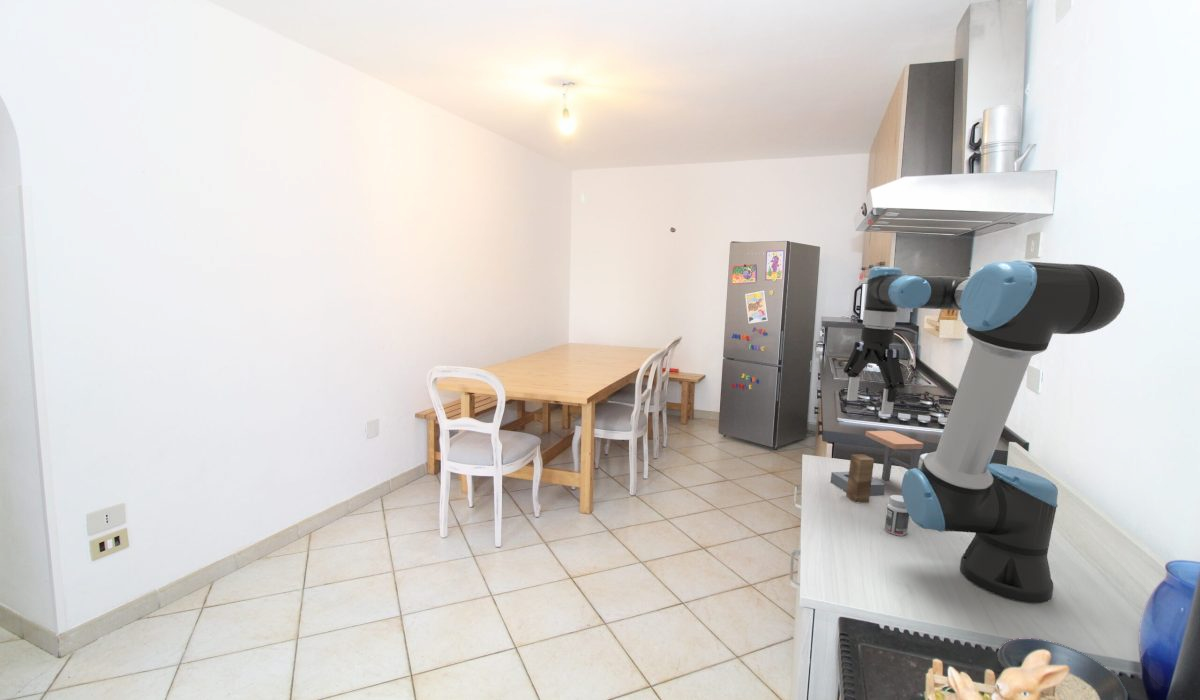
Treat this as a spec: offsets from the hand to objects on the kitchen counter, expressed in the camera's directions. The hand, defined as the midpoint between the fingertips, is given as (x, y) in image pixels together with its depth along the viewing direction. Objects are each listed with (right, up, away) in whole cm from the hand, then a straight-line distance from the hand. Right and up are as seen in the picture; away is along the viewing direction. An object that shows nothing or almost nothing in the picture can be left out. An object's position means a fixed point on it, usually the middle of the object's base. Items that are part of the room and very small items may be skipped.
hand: (868, 406), depth 145 cm
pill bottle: (-1, -28, -14) cm, 32 cm away
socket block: (+2, -24, +11) cm, 27 cm away
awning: (+12, -25, +14) cm, 31 cm away
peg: (-1, -26, +4) cm, 26 cm away
